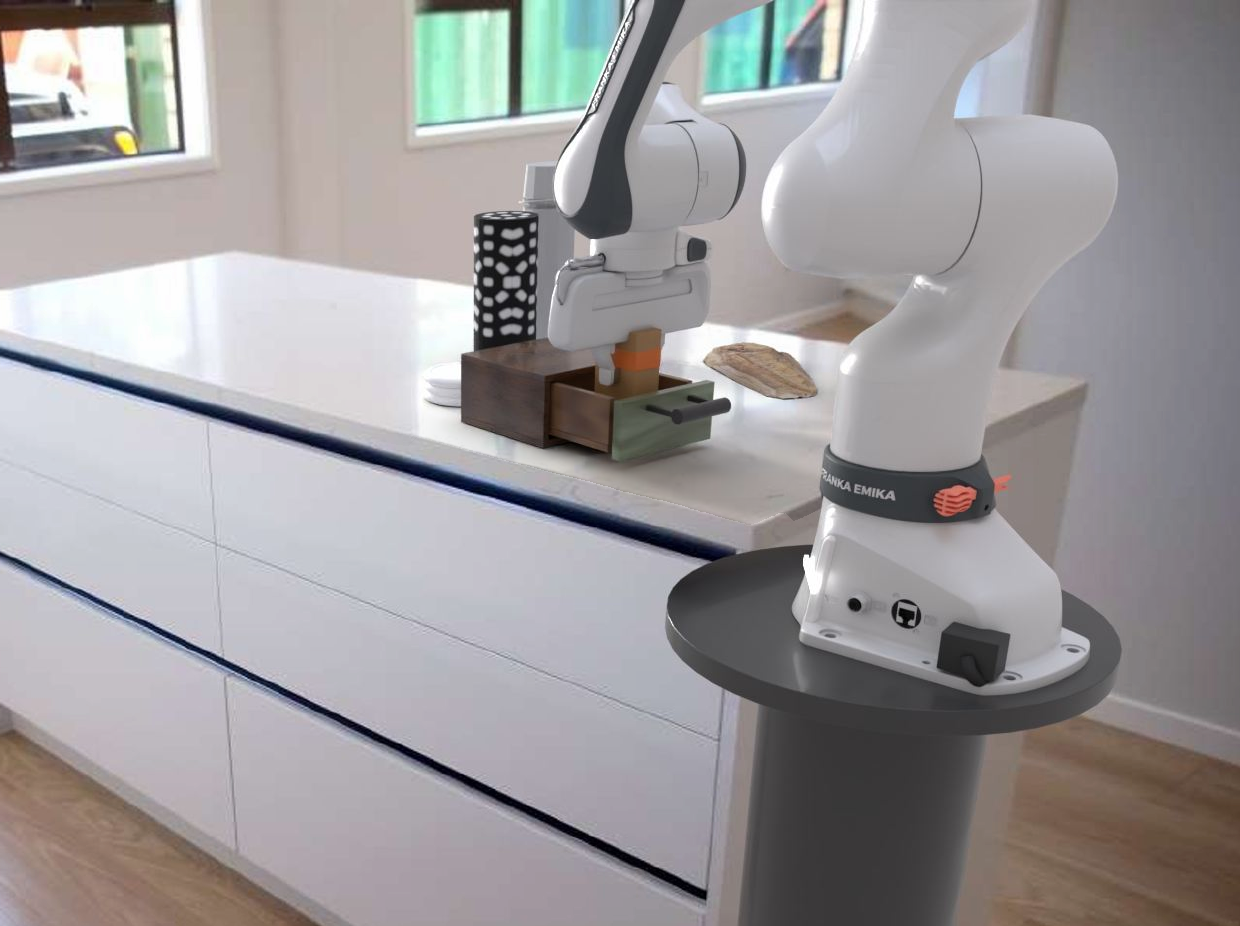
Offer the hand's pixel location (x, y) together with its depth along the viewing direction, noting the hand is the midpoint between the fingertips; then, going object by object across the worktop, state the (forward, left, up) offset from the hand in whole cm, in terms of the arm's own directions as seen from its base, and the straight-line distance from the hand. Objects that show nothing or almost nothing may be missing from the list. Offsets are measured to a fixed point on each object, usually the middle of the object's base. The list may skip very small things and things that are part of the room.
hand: (626, 380), depth 152 cm
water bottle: (+44, -27, -8) cm, 52 cm away
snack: (0, 0, -5) cm, 5 cm away
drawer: (-2, 0, -6) cm, 7 cm away
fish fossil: (+12, -36, -7) cm, 39 cm away
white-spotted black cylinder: (+37, -14, -8) cm, 40 cm away
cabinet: (+12, 0, -7) cm, 14 cm away
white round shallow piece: (+28, 0, -8) cm, 29 cm away
